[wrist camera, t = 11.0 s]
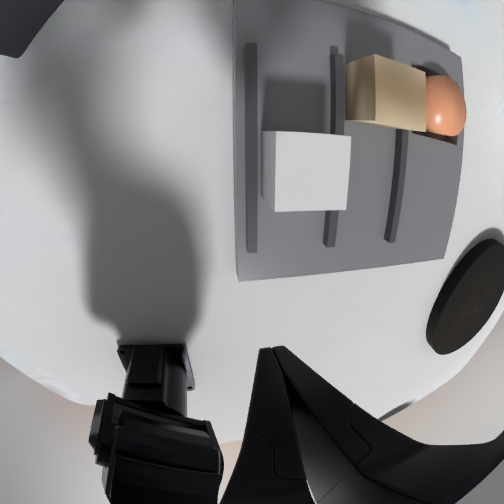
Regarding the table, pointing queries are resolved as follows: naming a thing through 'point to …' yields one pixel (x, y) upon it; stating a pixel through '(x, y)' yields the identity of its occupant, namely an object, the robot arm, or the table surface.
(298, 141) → the white cube
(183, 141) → the table surface
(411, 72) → the beech slider
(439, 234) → the grey railed board
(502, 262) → the wireless charger
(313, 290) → the table surface
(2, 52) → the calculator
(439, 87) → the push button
